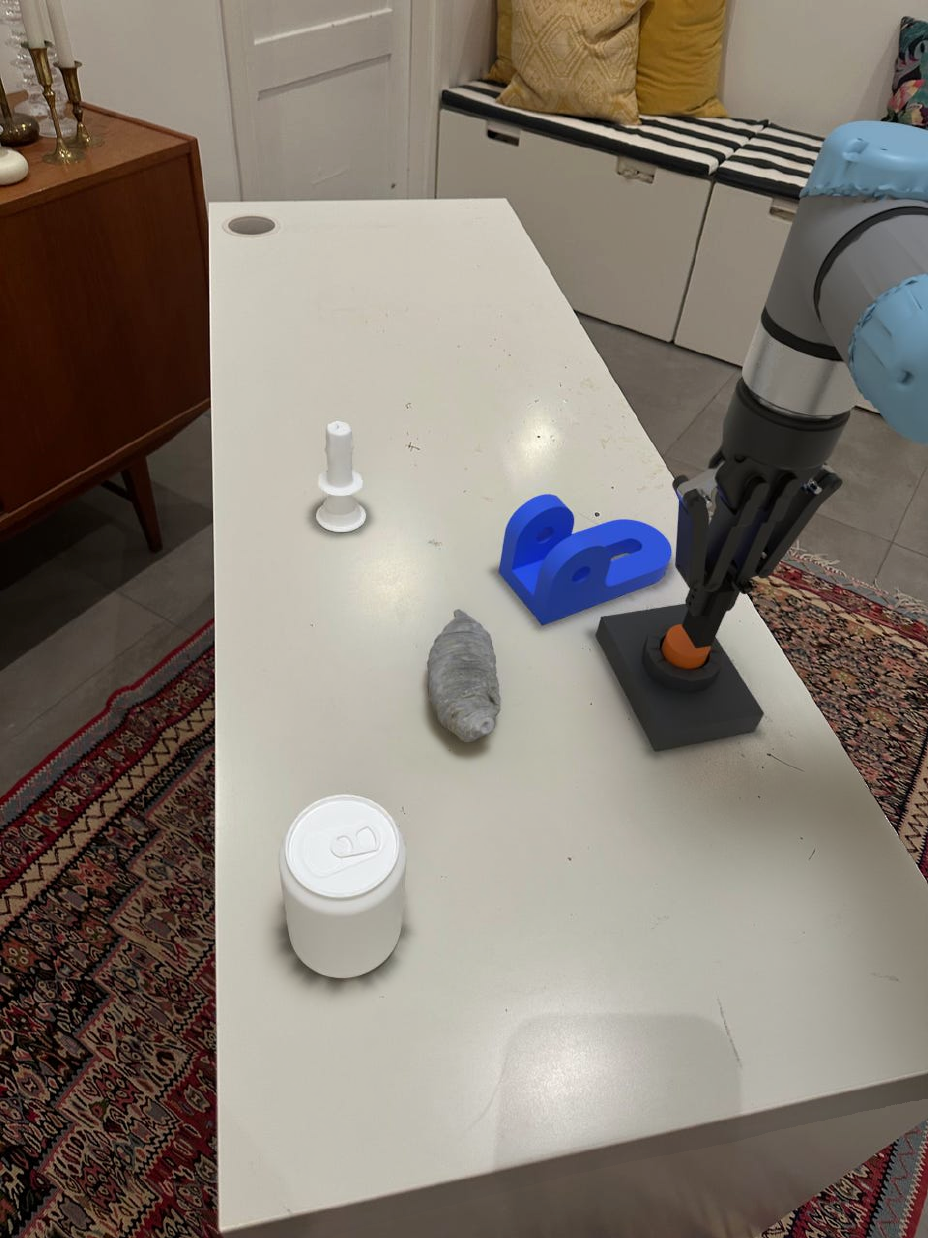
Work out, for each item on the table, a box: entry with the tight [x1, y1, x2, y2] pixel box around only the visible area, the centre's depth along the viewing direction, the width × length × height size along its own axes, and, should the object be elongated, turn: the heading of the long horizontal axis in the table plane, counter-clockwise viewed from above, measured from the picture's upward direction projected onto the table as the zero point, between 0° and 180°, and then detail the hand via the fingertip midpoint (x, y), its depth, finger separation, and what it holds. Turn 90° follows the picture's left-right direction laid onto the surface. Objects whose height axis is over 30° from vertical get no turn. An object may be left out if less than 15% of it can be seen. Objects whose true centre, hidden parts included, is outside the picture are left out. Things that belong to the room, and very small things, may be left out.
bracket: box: [498, 493, 673, 626], centre depth 88 cm, size 18×8×9 cm, turn 120°
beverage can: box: [278, 793, 408, 979], centre depth 59 cm, size 8×8×12 cm
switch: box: [662, 624, 711, 670], centre depth 78 cm, size 4×4×2 cm
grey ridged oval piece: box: [426, 608, 502, 743], centre depth 76 cm, size 6×14×8 cm, turn 4°
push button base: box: [595, 603, 765, 752], centre depth 80 cm, size 14×10×4 cm
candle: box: [315, 420, 367, 533], centre depth 90 cm, size 5×5×12 cm
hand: (696, 635), depth 74 cm, fingers closed
